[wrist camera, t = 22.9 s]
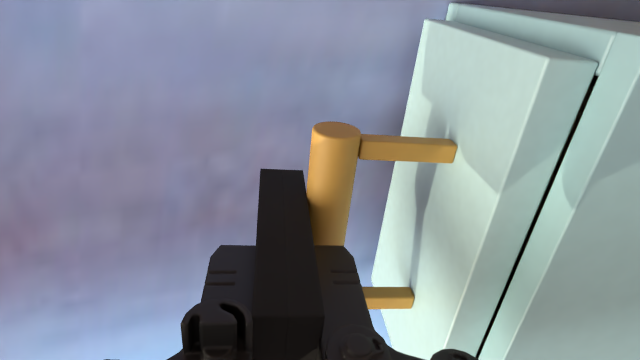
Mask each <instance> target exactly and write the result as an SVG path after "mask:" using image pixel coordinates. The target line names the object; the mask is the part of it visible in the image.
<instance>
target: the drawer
mask: <svg viewBox="0 0 640 360" xmlns="http://www.w3.org/2000/svg"><path fill="white" fill-rule="evenodd" d="M597 67H598V62H597V61H594V60H591V59H587V58H584V57H580V56H577V55H573V54H569V53H566V52H562V51H559V50H555V49H551V48H548V47H544V46H541V45H537V44H534V43H530V42H526V41H523V40H519V39H516V38H512V37H508V36H505V35H501V34H498V33H494V32H491V31H487V30H483V29H480V28H476V27H473V26H469V25H466V24H462V23H458V22H455V21H446V20H436V19H425V20H424V25H423V30H422V35H421V40H420V44H419V49H418V54H417V59H416V64H415V69H414V73H413V78H412V83H411V88H410V93H409V98H408V102H407V107H406V112H405V117H404V122H403V127H402V132H401V136H388V135H369V134H361V132H360V130H359V129H358V128H356V127H354V126H352V125H349V124H346V123H341V122H322V123H318V124H316V125H314V127H313V129H312V139H311V149H310V160H309V171H308V182H307V192H306V195H307V202H308V208H309V215H310V221H311V228H312V234H313V241H314V245H337V246H344V242H345V235H346V229H347V222H348V216H349V210H350V203H351V197H352V190H353V184H354V178H355V171H356V165H357V158H358V157H359V159H363V160H385V161H395V165H394V170H393V175H392V180H391V185H390V190H389V195H388V199H387V204H386V209H385V214H384V219H383V224H382V228H381V233H380V238H379V243H378V248H377V253H376V257H375V262H374V267H373V272H372V277H371V281H372V284H373V287H362V290H363V293H364V297H365V300H366V304H367V307H368V309H381V312H382V315H383V319H384V322H385V325H386V328H387V331H388V334H389V338H390V341H391V344H392V347H393V349H394V350H396V351H398V352H401V353H404V354H407V355H410V356H414V357H418V358H421V359H425V360H430V359H431V357H432V355H433V354H434V353H436V352H438V351H440V350H442V349H456V350H460V351H464V352H467V353H468V354H470V355H472V356H474V357H475V358H477V359H478V358H479V356H480V353H481V351H482V349H483V346H484V344H485V342H486V339H487V337H488V335H489V332H490V330H491V328H492V325H493V323H494V321H495V318H496V316H497V314H498V311H499V309H500V306H501V304H502V302H503V299H504V297H505V295H506V292H507V290H508V288H509V285H510V283H511V281H512V278H513V276H514V274H515V271H516V269H517V267H518V264H519V262H520V260H521V257H522V255H523V253H524V250H525V248H526V246H527V243H528V241H529V238H530V236H531V234H532V231H533V229H534V227H535V224H536V222H537V220H538V217H539V215H540V213H541V210H542V208H543V206H544V203H545V201H546V199H547V196H548V194H549V192H550V189H551V187H552V185H553V182H554V180H555V177H556V175H557V173H558V170H559V168H560V166H561V163H562V161H563V159H564V156H565V154H566V152H567V149H568V147H569V145H570V142H571V140H572V138H573V135H574V133H575V131H576V128H577V126H578V124H579V121H580V119H581V116H582V114H583V112H584V109H585V107H586V105H587V102H588V100H589V98H590V95H591V93H592V91H593V88H594V86H595V84H596V81H597V79H598V77H599V76H595V75H594V74H595V71H596V69H597Z"/></svg>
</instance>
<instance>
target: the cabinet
mask: <svg viewBox="0 0 640 360" xmlns="http://www.w3.org/2000/svg"><path fill="white" fill-rule="evenodd" d="M446 21H455V22H458V23H462V24H466V25H469V26H473V27H476V28H480V29H483V30H487V31H491V32H494V33H498V34H501V35H505V36H508V37H512V38H516V39H519V40H523V41H526V42H530V43H534V44H537V45H541V46H544V47H548V48H551V49H555V50H559V51H562V52H566V53H569V54H573V55H577V56H580V57H584V58H587V59H591V60H594V61H597V62H598V67H597V69H596V71H595V74H594V75H595V76H599V77H598V79H597V81H596V84H595V86H594V88H593V91H592V93H591V95H590V98H589V100H588V102H587V105H586V107H585V109H584V112H583V114H582V116H581V119H580V121H579V124H578V126H577V128H576V131H575V133H574V135H573V138H572V140H571V142H570V145H569V147H568V149H567V152H566V154H565V156H564V159H563V161H562V163H561V166H560V168H559V170H558V173H557V175H556V177H555V180H554V182H553V185H552V187H551V189H550V192H549V194H548V196H547V199H546V201H545V203H544V206H543V208H542V210H541V213H540V215H539V217H538V220H537V222H536V224H535V227H534V229H533V231H532V234H531V236H530V238H529V241H528V243H527V246H526V248H525V250H524V253H523V255H522V257H521V260H520V262H519V264H518V267H517V269H516V271H515V274H514V276H513V278H512V281H511V283H510V285H509V288H508V290H507V292H506V295H505V297H504V299H503V302H502V304H501V306H500V309H499V311H498V314H497V316H496V318H495V321H494V323H493V325H492V328H491V330H490V332H489V335H488V337H487V339H486V342H485V344H484V346H483V349H482V351H481V353H480V356H479V358H478V360H640V22H634V21H625V20H616V19H606V18H597V17H587V16H578V15H568V14H559V13H549V12H540V11H530V10H521V9H511V8H502V7H493V6H483V5H474V4H464V3H455V2H451V3H450V4H449V8H448V12H447V16H446Z"/></svg>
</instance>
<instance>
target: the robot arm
mask: <svg viewBox="0 0 640 360" xmlns="http://www.w3.org/2000/svg"><path fill="white" fill-rule="evenodd" d="M181 333H182V343H183V349H182V350H181V351H180V352H179V353H177V354H175V355H174V356H172V357H171V358H169V359H167V360H425V359H421V358H418V357H414V356H410V355H407V354H404V353H401V352H398V351H396V350H394V349H393V348H391V347H389V346H388V345H387V344H386V343H385V341H384V339H383V338H382V337H381V336H380V335H379V334H378V333H377V332H376V331H375V330H374V327H373V325H372V321H371V318H370V314H369V311H368V307H367V304H366V300H365V297H364V293H363V290H362V286H361V284H360V279H359V275H358V273H357V268H356V265H355V261H354V258H353V256H352V255H351V254H350V253H349V252H348V251H347V249H346V248H345V247H344V246H337V245H314V241H313V234H312V228H311V221H310V215H309V208H308V202H307V195H306V188H305V182H304V175H303V170H278V169H261V171H260V187H259V204H258V220H257V237H256V246H241V245H221V246H220V247H219V248H218V249H217V250H216V251H215V253H214V254H213V255H212V256H211V257H210V262H209V266H208V271H207V276H206V280H205V286H204V289H203V294H202V299H201V303H199V304H197V305H195V306H194V307H193V308H192V309H190V310H189V311H188V312H187V313H186V314H185V316H184V318H183V320H182V322H181ZM105 360H108V359H105ZM430 360H478V359H477V358H475V357H474V356H472V355H470V354H468V353H467V352H464V351H460V350H456V349H442V350H440V351H438V352H436V353H434V354H433V355H432V357H431V359H430Z"/></svg>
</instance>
